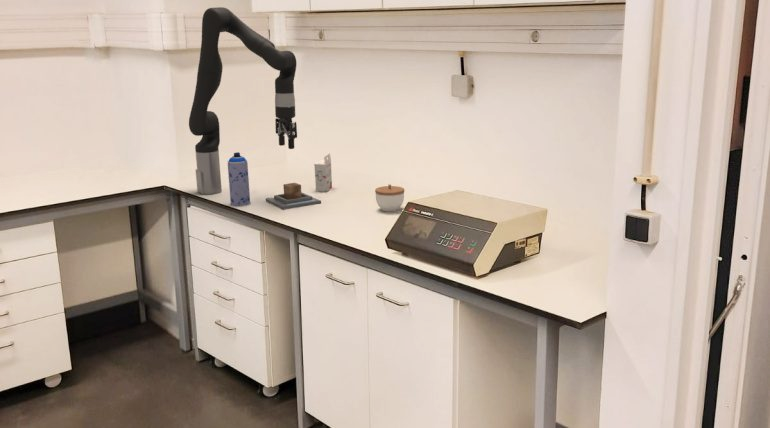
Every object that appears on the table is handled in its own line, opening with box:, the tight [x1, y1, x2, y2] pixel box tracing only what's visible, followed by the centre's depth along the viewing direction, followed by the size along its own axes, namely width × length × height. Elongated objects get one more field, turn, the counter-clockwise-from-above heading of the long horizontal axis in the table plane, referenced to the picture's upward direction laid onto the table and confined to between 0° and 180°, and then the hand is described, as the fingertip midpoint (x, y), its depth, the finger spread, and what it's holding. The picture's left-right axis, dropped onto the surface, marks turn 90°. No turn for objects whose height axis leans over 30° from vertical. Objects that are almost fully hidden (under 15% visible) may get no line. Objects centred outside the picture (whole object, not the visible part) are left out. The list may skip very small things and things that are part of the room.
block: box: [282, 182, 302, 200], centre depth 277 cm, size 5×5×6 cm
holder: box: [265, 191, 322, 210], centre depth 277 cm, size 16×16×2 cm
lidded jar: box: [375, 184, 405, 213], centre depth 263 cm, size 11×11×9 cm
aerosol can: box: [227, 151, 252, 207], centre depth 274 cm, size 8×8×20 cm
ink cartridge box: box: [313, 153, 333, 193], centre depth 296 cm, size 9×5×15 cm, turn 168°
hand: (286, 147), depth 275 cm, fingers open, 8 cm apart
